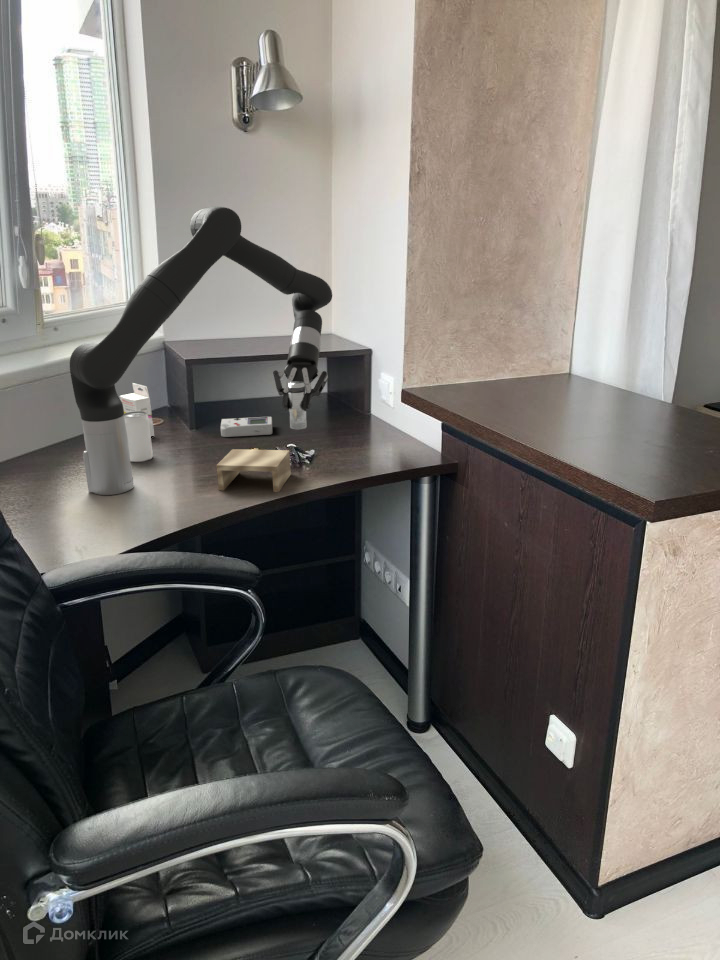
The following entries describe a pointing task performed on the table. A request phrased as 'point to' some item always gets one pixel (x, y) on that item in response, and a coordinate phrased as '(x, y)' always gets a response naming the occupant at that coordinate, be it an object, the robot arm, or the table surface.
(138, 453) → the can
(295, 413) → the spice jar
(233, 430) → the handheld gaming device
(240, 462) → the riser
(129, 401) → the ink cartridge box
